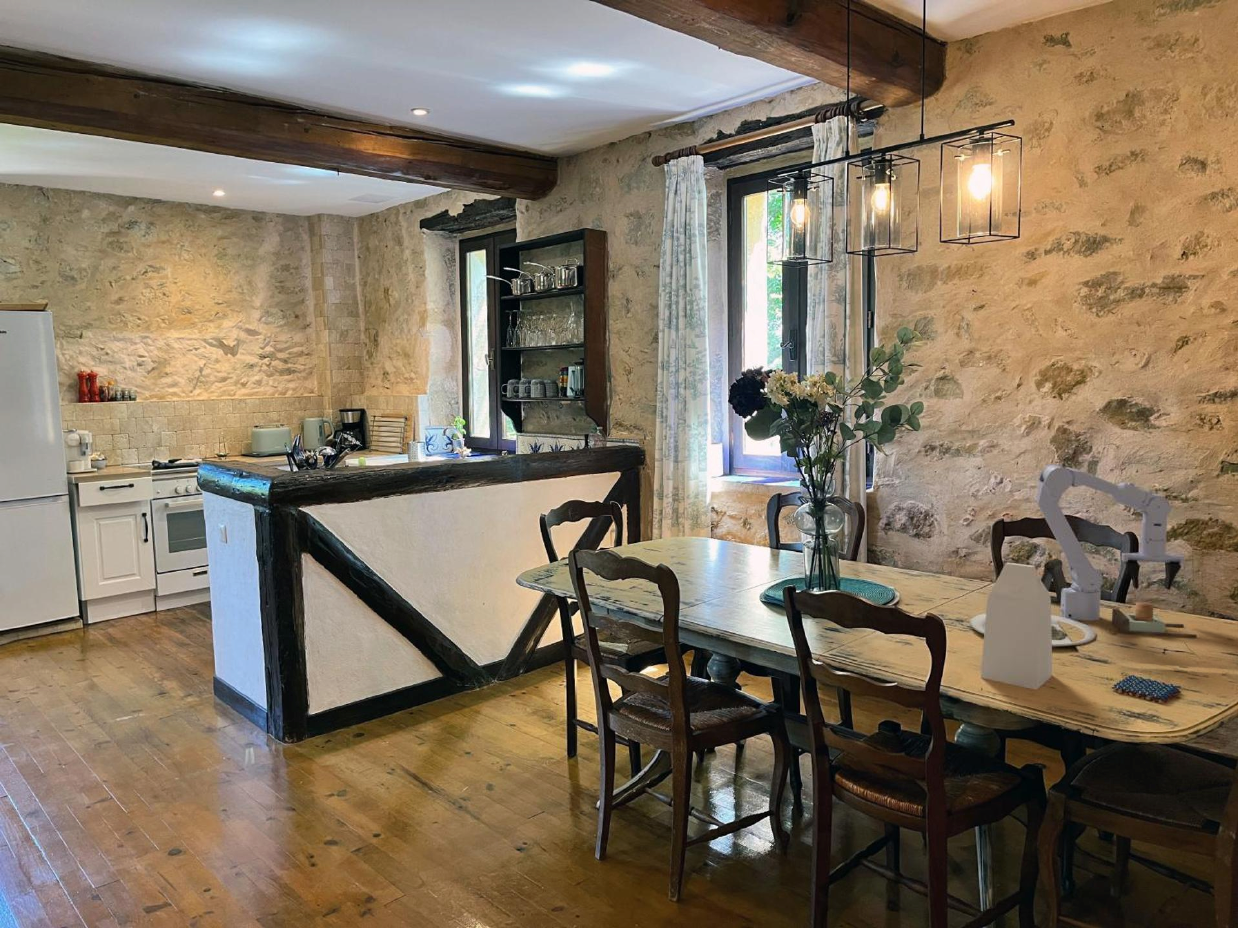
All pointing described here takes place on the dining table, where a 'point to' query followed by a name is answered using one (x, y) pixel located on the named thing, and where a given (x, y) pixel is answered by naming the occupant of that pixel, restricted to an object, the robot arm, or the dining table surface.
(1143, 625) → the socket block
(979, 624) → the plated food
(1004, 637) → the milk
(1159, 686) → the woven mat
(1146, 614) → the dowel
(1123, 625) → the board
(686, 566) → the dining table surface
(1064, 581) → the door stopper
